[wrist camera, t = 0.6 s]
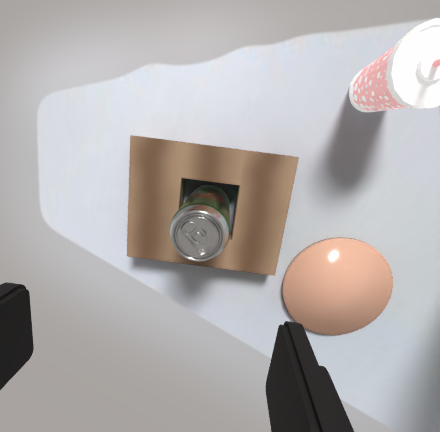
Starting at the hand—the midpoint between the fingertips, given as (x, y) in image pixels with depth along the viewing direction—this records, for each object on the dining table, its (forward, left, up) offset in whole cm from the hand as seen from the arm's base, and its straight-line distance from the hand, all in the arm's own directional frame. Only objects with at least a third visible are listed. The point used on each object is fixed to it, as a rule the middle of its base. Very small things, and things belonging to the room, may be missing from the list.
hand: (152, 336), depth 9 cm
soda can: (0, 0, -24) cm, 24 cm away
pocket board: (0, 0, -23) cm, 23 cm away
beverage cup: (-16, -15, -24) cm, 32 cm away
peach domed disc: (-18, +9, -23) cm, 31 cm away
